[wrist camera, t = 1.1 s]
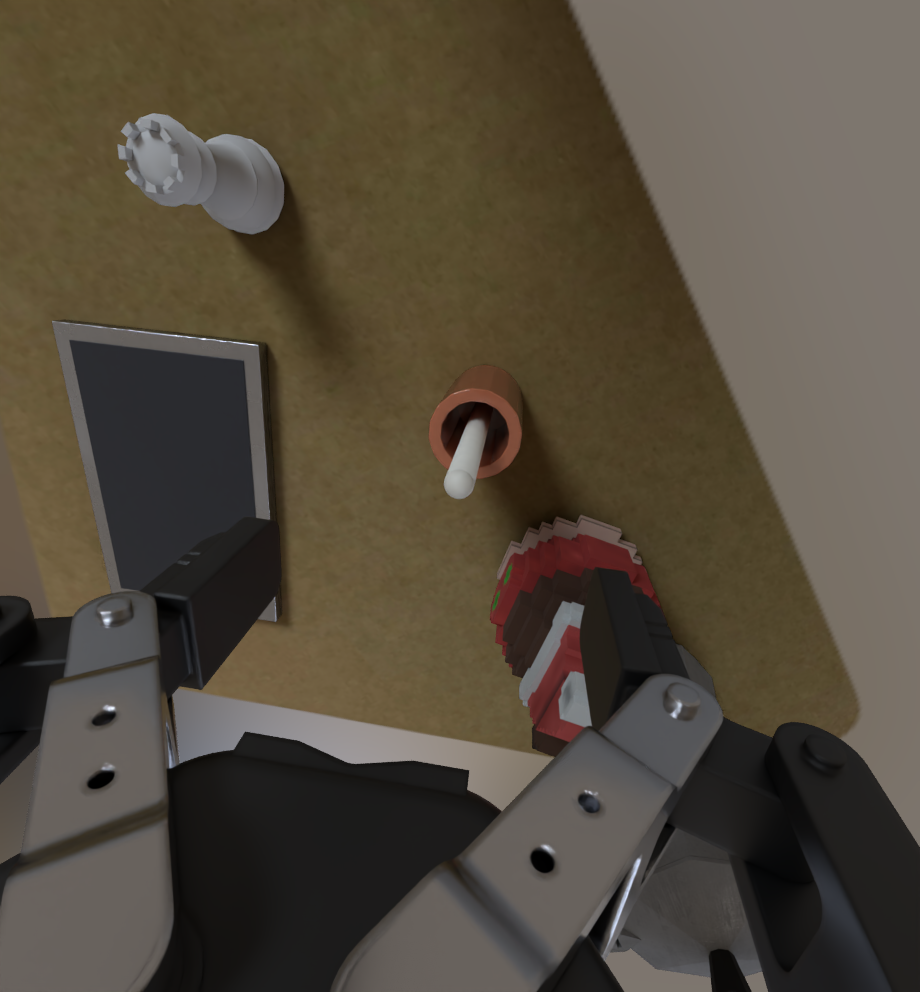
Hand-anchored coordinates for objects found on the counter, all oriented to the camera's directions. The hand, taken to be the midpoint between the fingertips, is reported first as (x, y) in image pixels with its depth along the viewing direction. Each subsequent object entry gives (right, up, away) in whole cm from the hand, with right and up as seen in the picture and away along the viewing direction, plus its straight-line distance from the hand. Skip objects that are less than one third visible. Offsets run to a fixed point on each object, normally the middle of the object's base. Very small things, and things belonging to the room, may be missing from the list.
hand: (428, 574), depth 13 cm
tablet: (-18, +3, +22) cm, 29 cm away
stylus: (+2, +7, +17) cm, 19 cm away
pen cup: (+2, +8, +18) cm, 19 cm away
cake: (+8, -3, +22) cm, 23 cm away
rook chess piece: (-11, +19, +15) cm, 26 cm away
